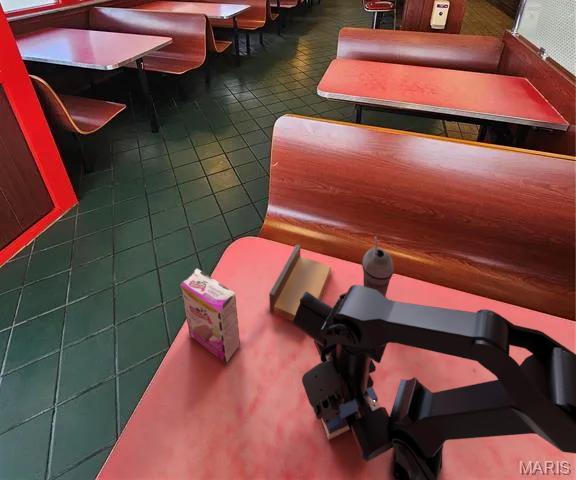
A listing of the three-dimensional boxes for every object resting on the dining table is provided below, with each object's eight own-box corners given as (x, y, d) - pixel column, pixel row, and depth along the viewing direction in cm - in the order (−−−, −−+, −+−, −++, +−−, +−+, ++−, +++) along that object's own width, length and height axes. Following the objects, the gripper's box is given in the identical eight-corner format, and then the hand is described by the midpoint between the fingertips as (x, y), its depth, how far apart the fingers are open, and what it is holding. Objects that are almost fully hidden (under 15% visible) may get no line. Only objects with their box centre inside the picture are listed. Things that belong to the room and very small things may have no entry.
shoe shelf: (330, 273, 88) (331, 256, 86) (308, 329, 75) (309, 310, 72) (296, 260, 92) (296, 244, 90) (269, 311, 79) (269, 293, 76)
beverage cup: (390, 317, 77) (400, 253, 70) (358, 311, 78) (364, 248, 71) (387, 289, 84) (396, 228, 76) (358, 284, 85) (364, 224, 78)
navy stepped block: (364, 387, 64) (366, 371, 62) (377, 414, 60) (380, 397, 58) (317, 410, 61) (318, 393, 59) (328, 440, 57) (329, 423, 55)
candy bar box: (188, 337, 73) (178, 284, 67) (204, 318, 77) (196, 266, 71) (225, 367, 68) (218, 312, 62) (241, 345, 72) (236, 291, 66)
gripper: (288, 319, 60) (289, 372, 66) (336, 449, 44) (332, 505, 50) (342, 299, 64) (338, 351, 69) (405, 413, 47) (393, 468, 53)
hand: (348, 409), depth 60 cm, fingers open, 6 cm apart
